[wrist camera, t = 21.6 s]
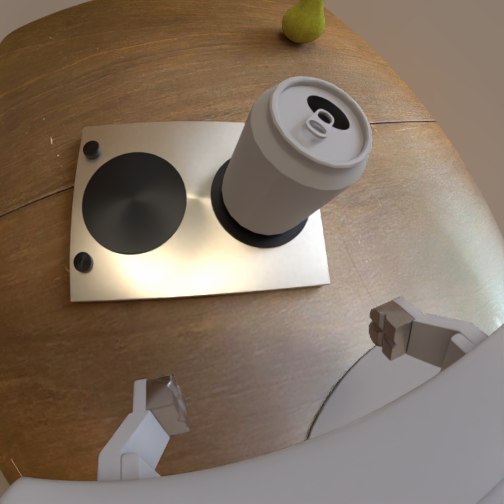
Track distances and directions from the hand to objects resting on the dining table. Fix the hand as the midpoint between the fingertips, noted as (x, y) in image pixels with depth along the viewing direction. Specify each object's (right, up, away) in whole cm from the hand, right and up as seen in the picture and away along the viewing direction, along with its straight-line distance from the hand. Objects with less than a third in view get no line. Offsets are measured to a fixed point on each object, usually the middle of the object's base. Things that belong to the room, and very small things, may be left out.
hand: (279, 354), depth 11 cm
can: (0, +9, +15) cm, 17 cm away
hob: (-6, +8, +15) cm, 18 cm away
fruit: (+5, +34, +24) cm, 42 cm away
